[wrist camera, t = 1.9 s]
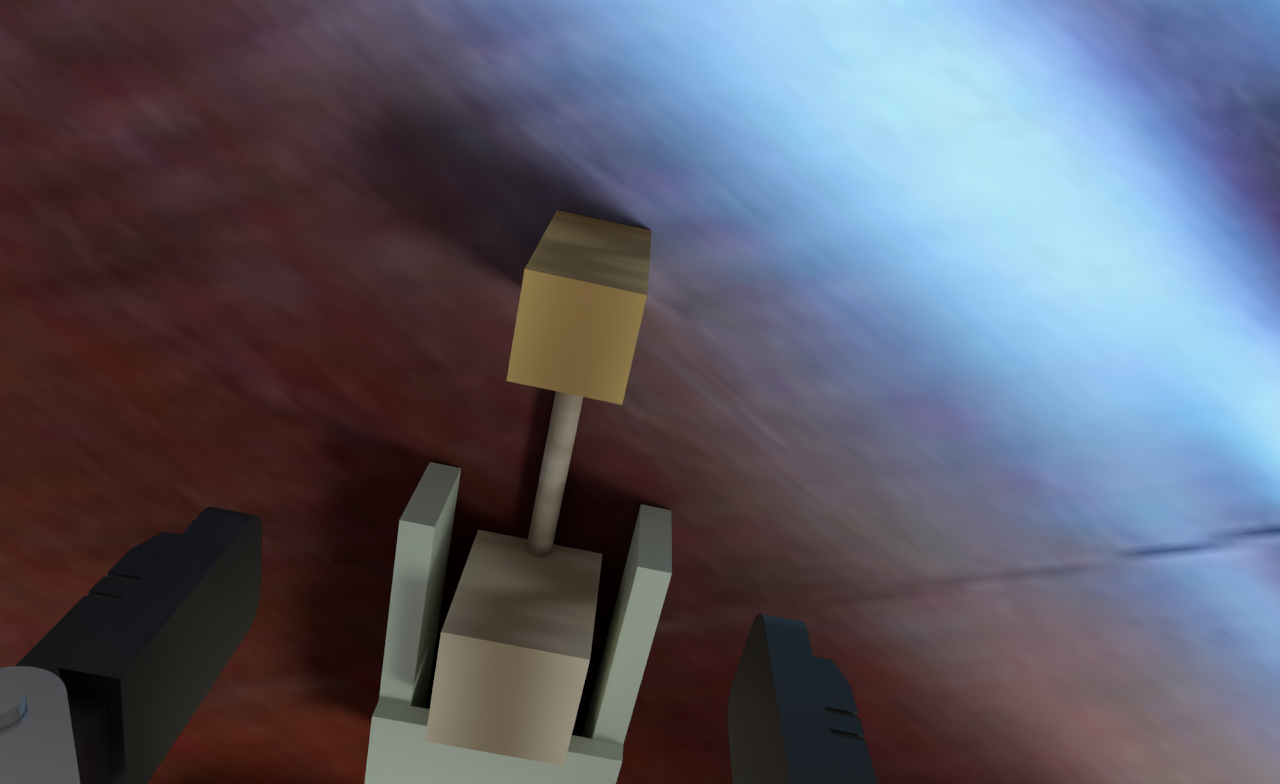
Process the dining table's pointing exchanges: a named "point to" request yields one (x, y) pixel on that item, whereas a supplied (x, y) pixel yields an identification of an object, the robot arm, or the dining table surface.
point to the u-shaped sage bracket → (398, 754)
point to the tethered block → (543, 508)
